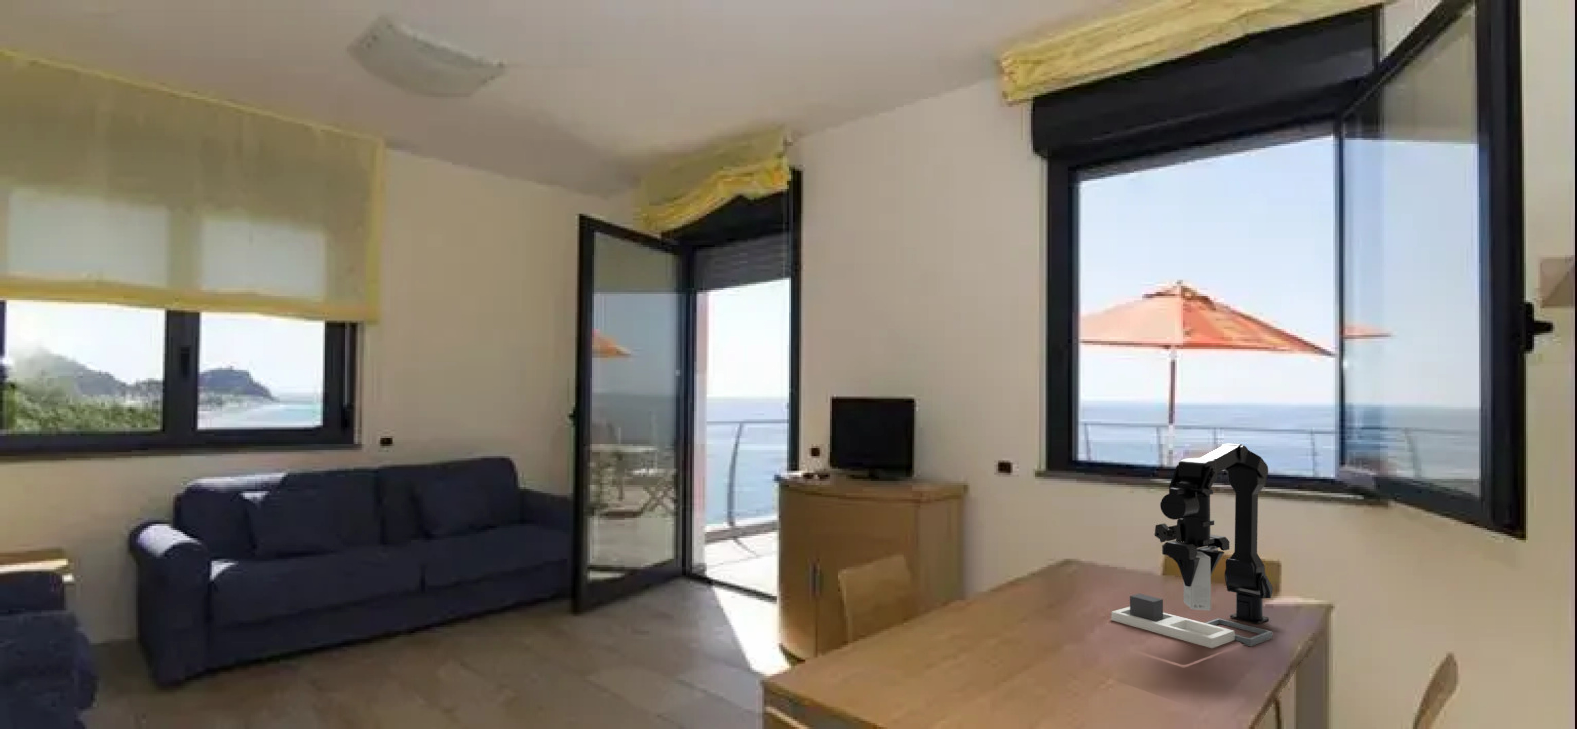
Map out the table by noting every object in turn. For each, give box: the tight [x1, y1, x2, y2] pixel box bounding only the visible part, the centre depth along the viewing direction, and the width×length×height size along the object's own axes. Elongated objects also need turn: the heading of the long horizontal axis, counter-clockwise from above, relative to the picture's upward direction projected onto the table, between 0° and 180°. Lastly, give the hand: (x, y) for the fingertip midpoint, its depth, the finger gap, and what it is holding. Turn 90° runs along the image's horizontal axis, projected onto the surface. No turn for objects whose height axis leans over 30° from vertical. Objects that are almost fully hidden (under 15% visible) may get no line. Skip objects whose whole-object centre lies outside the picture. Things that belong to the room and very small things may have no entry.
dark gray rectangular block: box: [1129, 593, 1164, 622], centre depth 187 cm, size 4×6×6 cm, turn 35°
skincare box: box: [1183, 552, 1212, 611], centre depth 177 cm, size 6×4×12 cm
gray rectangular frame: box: [1205, 617, 1273, 647], centre depth 180 cm, size 10×12×2 cm
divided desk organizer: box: [1110, 606, 1236, 649], centre depth 182 cm, size 10×24×2 cm, turn 35°
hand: (1196, 583), depth 177 cm, fingers closed on skincare box, 7 cm apart
